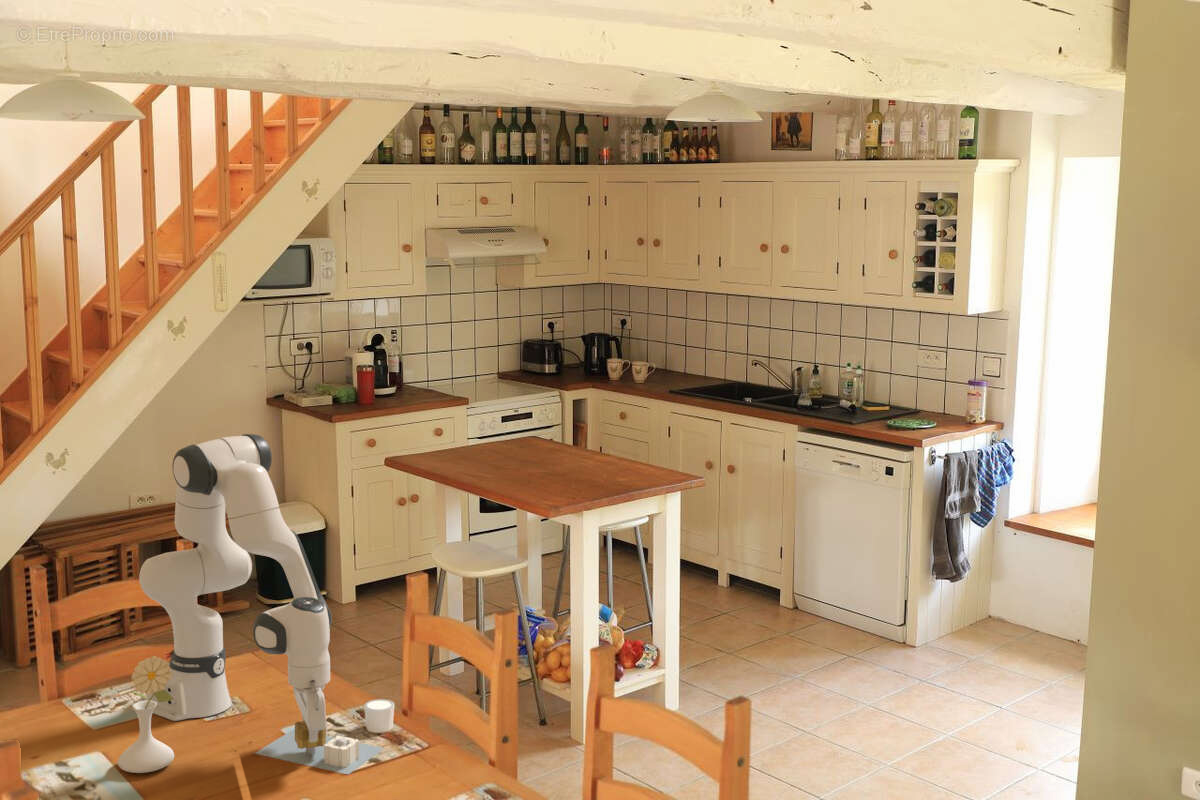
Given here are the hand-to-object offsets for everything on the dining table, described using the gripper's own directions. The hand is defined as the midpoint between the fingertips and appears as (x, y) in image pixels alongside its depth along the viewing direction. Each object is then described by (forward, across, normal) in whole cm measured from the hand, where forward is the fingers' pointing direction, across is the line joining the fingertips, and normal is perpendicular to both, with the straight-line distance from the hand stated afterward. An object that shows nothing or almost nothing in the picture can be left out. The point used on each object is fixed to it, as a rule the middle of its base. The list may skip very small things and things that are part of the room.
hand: (310, 734), depth 259 cm
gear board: (+6, +1, -2) cm, 6 cm away
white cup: (+6, +9, -17) cm, 20 cm away
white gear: (+4, -5, -6) cm, 9 cm away
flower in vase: (+6, +9, +32) cm, 34 cm away
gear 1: (+2, 0, 0) cm, 2 cm away
